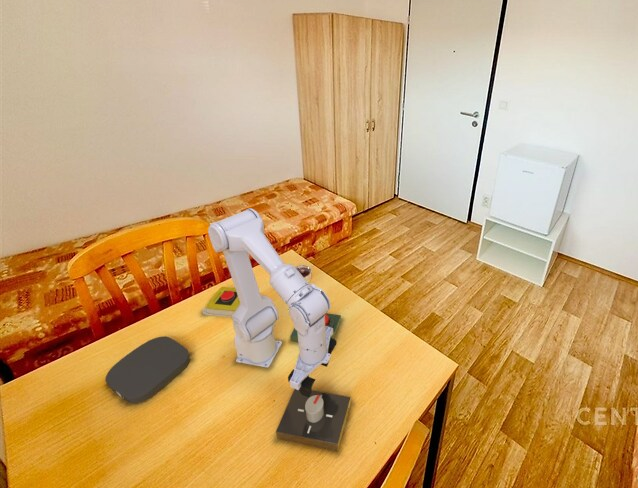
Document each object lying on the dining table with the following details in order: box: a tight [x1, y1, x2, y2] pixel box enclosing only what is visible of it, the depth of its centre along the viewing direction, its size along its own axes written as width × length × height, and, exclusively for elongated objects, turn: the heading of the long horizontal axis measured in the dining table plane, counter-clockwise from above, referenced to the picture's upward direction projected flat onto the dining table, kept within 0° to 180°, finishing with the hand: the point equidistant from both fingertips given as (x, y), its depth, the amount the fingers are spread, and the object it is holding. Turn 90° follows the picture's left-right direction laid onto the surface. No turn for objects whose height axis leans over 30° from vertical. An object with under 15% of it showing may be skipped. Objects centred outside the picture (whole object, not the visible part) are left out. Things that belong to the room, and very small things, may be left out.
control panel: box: [275, 388, 352, 452], centre depth 73 cm, size 14×10×3 cm
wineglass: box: [294, 264, 313, 284], centre depth 105 cm, size 7×7×12 cm
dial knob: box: [305, 395, 324, 423], centre depth 72 cm, size 4×4×4 cm
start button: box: [325, 314, 329, 327], centre depth 94 cm, size 4×4×2 cm
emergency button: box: [201, 286, 240, 318], centre depth 102 cm, size 9×4×15 cm
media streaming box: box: [105, 336, 191, 405], centre depth 81 cm, size 15×15×3 cm
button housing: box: [290, 312, 342, 343], centre depth 96 cm, size 12×10×4 cm
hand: (315, 378), depth 74 cm, fingers open, 7 cm apart
